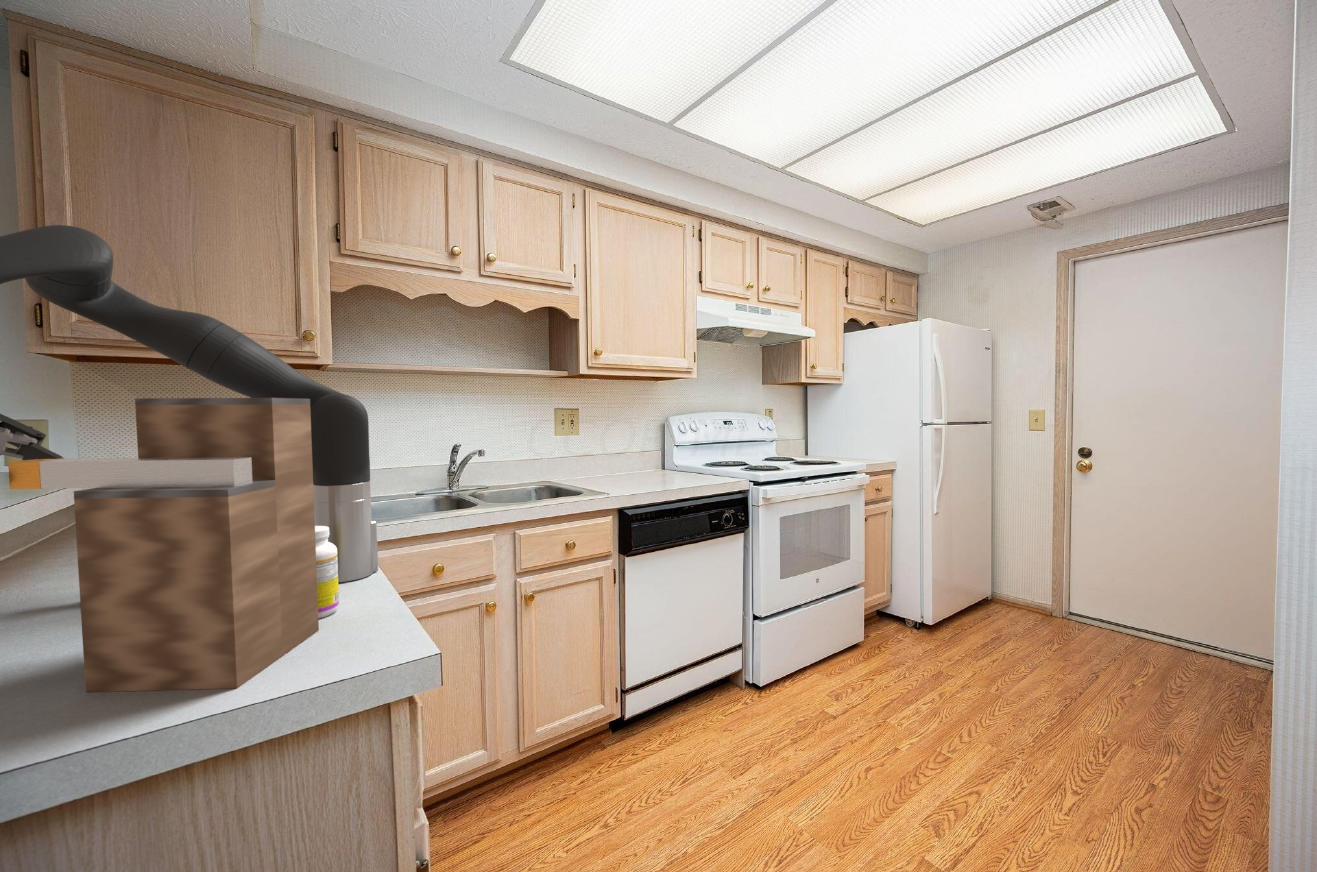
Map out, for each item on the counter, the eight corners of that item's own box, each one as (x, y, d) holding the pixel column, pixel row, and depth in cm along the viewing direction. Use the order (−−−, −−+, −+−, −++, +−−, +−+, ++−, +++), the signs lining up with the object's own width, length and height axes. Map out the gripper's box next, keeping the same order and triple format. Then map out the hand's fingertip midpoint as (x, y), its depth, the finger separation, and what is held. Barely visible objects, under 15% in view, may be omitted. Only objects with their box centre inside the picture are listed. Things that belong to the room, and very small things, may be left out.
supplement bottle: (277, 617, 83) (274, 531, 82) (322, 603, 89) (319, 522, 88) (304, 625, 80) (300, 535, 79) (349, 610, 86) (346, 526, 85)
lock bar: (9, 489, 62) (8, 461, 62) (39, 485, 65) (37, 459, 65) (234, 486, 63) (232, 459, 63) (252, 482, 66) (251, 457, 66)
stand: (85, 692, 61) (67, 397, 60) (199, 633, 77) (187, 399, 76) (237, 688, 62) (223, 396, 60) (318, 630, 78) (309, 398, 76)
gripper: (-206, 379, 55) (-28, 463, 58) (-43, 369, 69) (93, 437, 72) (-234, 444, 56) (-58, 523, 59) (-67, 420, 70) (68, 485, 73)
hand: (25, 475), depth 65 cm, fingers open, 8 cm apart
